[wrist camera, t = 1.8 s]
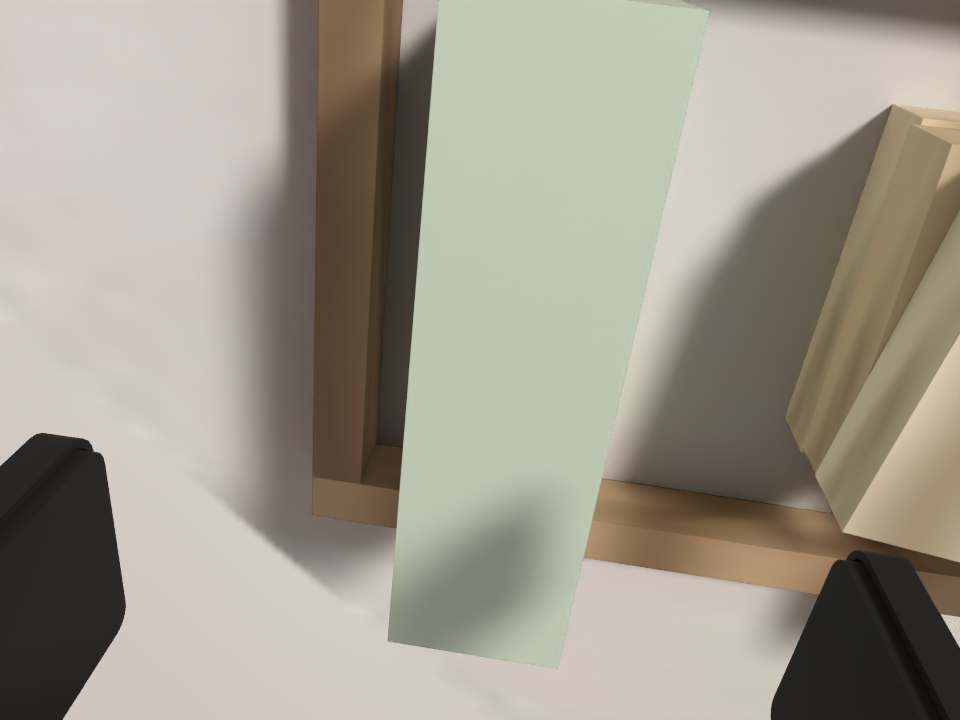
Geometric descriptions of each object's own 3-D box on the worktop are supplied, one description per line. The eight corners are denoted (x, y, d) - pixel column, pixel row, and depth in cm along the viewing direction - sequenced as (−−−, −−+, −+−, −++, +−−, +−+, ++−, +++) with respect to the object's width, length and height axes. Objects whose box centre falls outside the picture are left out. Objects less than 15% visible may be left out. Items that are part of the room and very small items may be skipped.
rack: (1362, -71, 18) (1873, -89, 11) (994, 576, 27) (1142, 790, 20) (349, -195, 19) (218, -285, 12) (331, 473, 28) (252, 644, 21)
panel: (648, -13, 20) (709, 10, 11) (561, 434, 27) (557, 668, 18) (496, -32, 20) (440, -24, 12) (447, 416, 27) (387, 641, 18)
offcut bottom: (1075, 125, 21) (1132, 144, 19) (934, 433, 26) (967, 477, 23) (888, 101, 21) (923, 118, 19) (781, 411, 26) (801, 452, 24)
